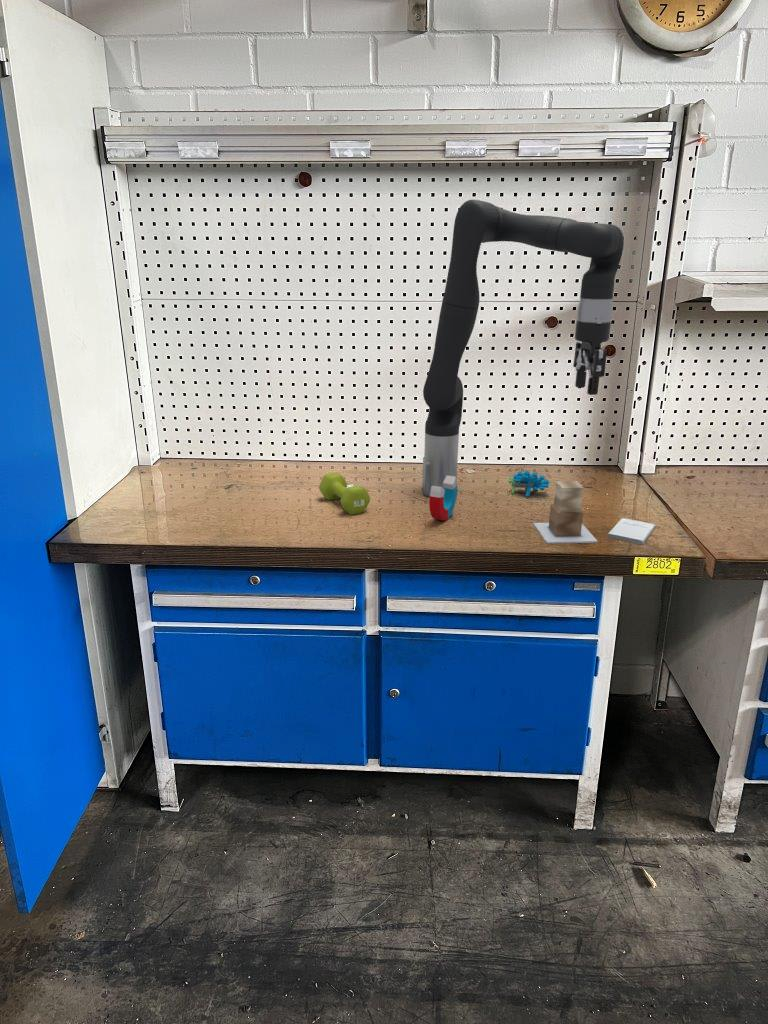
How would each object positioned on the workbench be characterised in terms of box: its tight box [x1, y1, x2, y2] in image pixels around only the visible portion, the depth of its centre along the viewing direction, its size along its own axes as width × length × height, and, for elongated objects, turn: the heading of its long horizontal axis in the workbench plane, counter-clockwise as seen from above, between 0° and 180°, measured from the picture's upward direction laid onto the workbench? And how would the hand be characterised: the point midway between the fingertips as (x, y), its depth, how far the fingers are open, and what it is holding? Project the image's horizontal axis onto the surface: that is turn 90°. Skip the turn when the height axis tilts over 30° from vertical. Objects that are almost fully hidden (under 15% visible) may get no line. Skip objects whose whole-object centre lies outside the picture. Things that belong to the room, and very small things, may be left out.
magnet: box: [428, 475, 458, 522], centre depth 174 cm, size 12×3×10 cm, turn 152°
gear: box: [508, 470, 550, 498], centre depth 192 cm, size 11×6×10 cm
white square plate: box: [532, 522, 599, 545], centre depth 167 cm, size 12×12×1 cm
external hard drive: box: [606, 517, 656, 546], centre depth 168 cm, size 2×8×12 cm
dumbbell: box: [318, 472, 371, 516], centre depth 183 cm, size 16×8×7 cm, turn 30°
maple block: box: [553, 480, 584, 512], centre depth 164 cm, size 5×5×6 cm
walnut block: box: [548, 503, 584, 537], centre depth 166 cm, size 6×6×6 cm
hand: (585, 390), depth 162 cm, fingers open, 8 cm apart
